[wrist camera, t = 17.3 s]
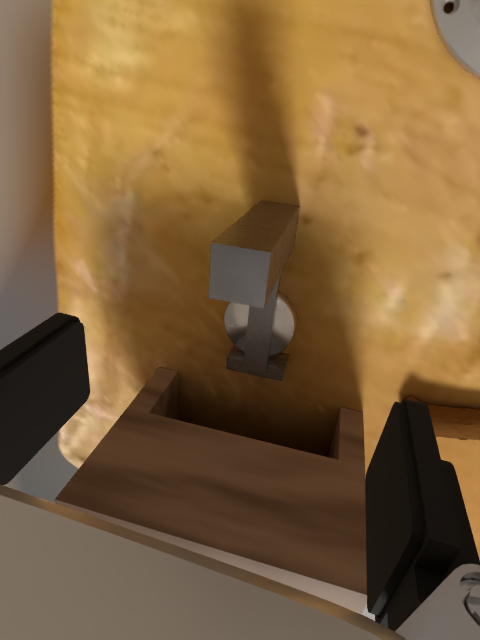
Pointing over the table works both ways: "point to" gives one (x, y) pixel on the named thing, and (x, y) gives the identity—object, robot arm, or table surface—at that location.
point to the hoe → (255, 280)
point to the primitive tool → (454, 421)
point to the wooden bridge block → (233, 495)
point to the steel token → (281, 331)
